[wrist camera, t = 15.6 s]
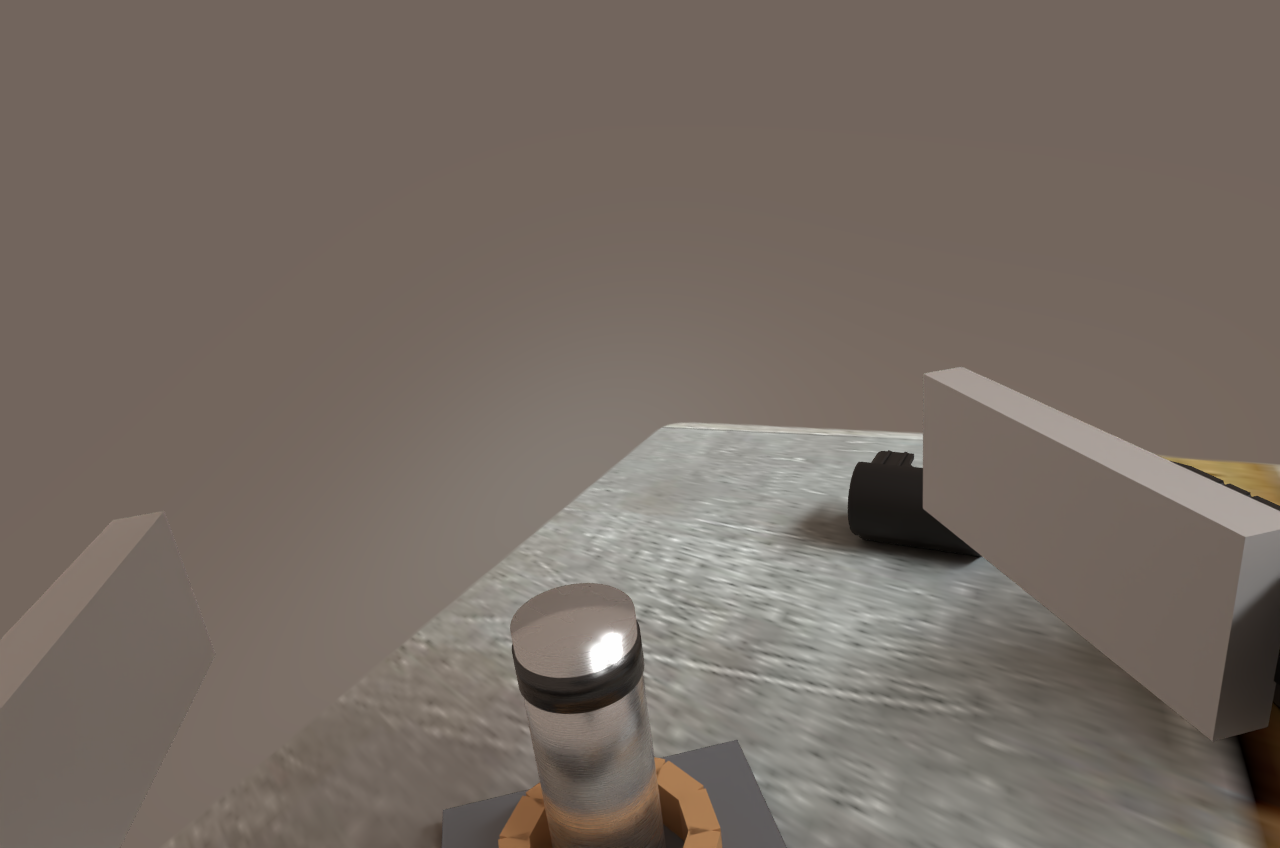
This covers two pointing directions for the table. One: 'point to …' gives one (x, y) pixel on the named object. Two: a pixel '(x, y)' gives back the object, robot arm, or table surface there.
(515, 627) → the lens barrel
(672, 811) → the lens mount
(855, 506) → the end cap
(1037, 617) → the table surface
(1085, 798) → the table surface
